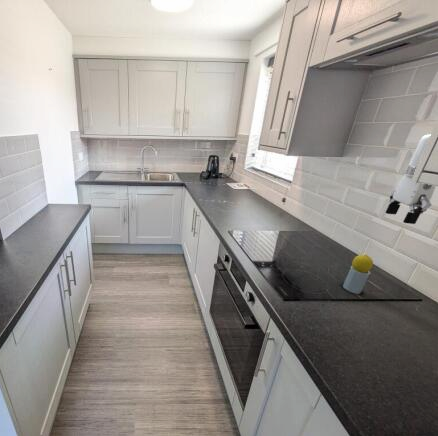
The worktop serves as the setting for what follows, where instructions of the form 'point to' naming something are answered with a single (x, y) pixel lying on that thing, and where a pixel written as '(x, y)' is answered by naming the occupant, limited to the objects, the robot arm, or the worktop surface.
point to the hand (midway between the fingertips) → (399, 218)
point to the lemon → (362, 263)
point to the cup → (355, 281)
